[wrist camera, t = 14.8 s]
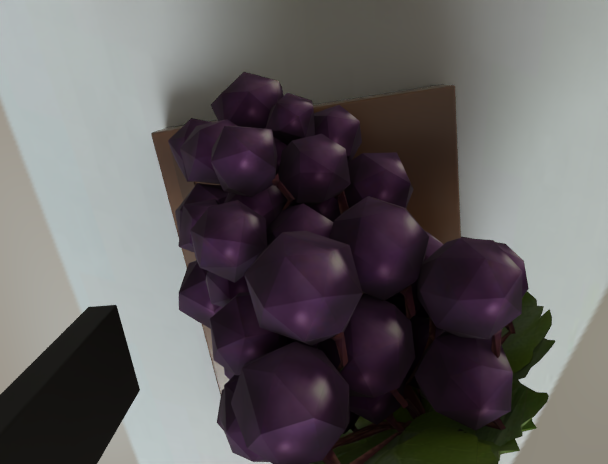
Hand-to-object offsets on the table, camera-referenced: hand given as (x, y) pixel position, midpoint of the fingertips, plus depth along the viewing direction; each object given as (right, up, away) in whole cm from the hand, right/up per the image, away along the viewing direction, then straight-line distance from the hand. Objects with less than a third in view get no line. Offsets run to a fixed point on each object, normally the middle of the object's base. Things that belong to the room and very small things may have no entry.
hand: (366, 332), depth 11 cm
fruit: (-5, +6, +2) cm, 8 cm away
